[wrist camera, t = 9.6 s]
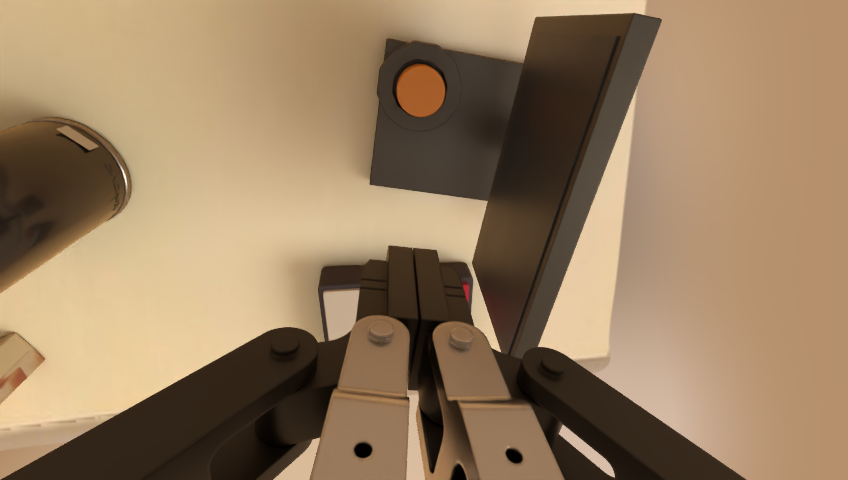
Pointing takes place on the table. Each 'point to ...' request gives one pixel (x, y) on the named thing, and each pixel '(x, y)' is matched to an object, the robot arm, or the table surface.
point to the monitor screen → (554, 162)
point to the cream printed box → (15, 363)
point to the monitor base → (443, 122)
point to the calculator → (343, 296)
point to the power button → (420, 90)
